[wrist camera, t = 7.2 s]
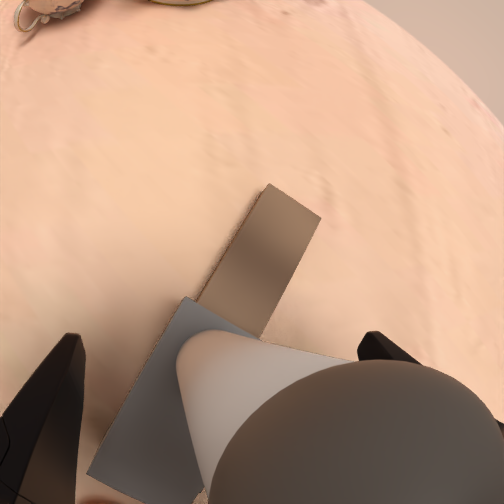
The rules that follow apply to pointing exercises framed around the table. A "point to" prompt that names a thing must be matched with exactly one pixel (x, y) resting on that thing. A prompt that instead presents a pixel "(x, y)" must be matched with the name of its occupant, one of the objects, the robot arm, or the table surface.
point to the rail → (260, 261)
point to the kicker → (294, 426)
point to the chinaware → (74, 8)
